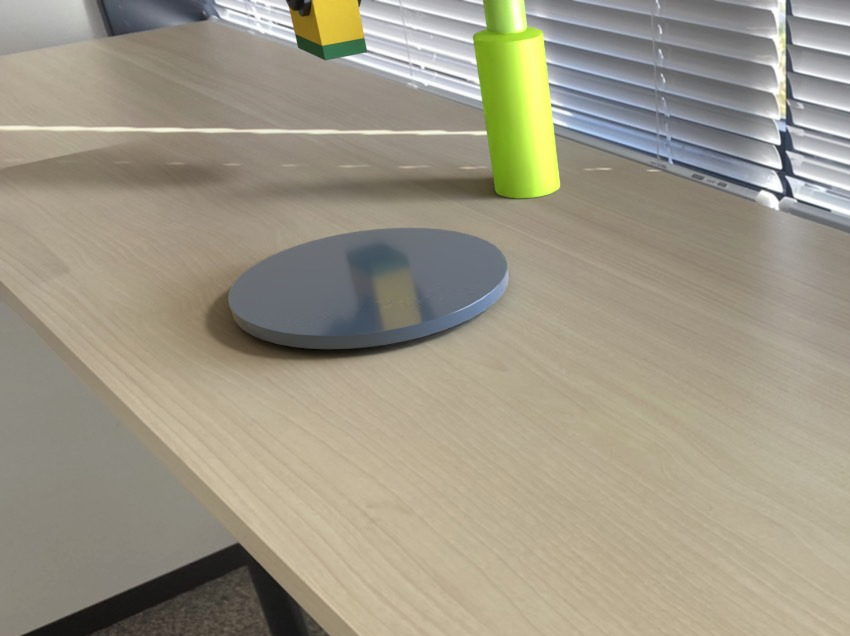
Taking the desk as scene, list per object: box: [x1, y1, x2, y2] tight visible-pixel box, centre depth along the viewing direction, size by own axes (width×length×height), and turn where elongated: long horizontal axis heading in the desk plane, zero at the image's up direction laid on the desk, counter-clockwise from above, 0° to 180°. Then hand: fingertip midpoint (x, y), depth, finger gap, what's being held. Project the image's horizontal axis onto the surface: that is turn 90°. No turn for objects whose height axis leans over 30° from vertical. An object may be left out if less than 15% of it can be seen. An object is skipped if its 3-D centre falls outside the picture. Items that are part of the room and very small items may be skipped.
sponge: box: [288, 0, 368, 61], centre depth 101 cm, size 4×6×8 cm
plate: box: [227, 227, 510, 350], centre depth 86 cm, size 20×20×2 cm
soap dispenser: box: [472, 0, 561, 199], centre depth 99 cm, size 6×7×20 cm
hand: (332, 5), depth 100 cm, fingers closed on sponge, 4 cm apart
